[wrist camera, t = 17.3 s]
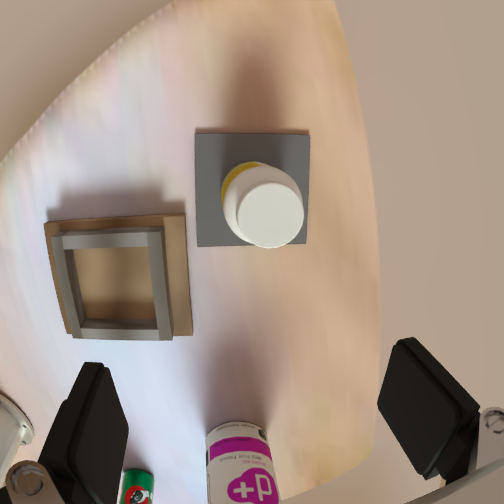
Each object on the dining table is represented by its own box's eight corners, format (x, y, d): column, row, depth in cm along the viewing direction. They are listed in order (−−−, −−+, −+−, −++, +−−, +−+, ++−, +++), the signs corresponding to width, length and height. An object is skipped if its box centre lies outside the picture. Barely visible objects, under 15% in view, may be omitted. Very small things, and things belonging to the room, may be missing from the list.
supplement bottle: (215, 216, 28) (216, 251, 19) (227, 155, 27) (234, 159, 17) (274, 226, 29) (303, 265, 20) (288, 168, 28) (325, 179, 18)
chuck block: (70, 328, 30) (60, 343, 28) (48, 221, 27) (33, 229, 24) (193, 330, 32) (192, 347, 29) (185, 213, 28) (182, 221, 25)
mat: (197, 245, 29) (197, 246, 29) (195, 134, 26) (194, 134, 26) (304, 242, 30) (306, 243, 30) (308, 135, 27) (310, 135, 27)
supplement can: (220, 412, 36) (229, 515, 22) (277, 426, 38) (301, 520, 24) (196, 445, 38) (198, 537, 24) (248, 457, 40) (262, 543, 26)
